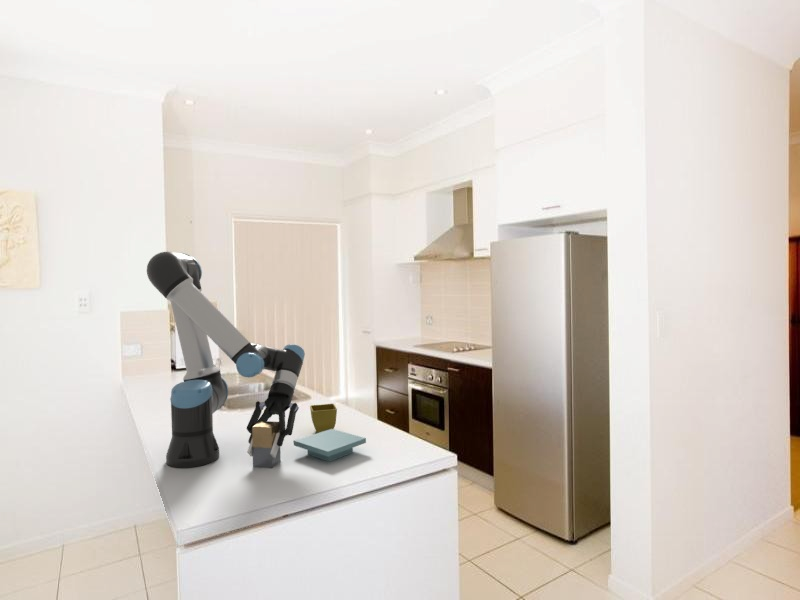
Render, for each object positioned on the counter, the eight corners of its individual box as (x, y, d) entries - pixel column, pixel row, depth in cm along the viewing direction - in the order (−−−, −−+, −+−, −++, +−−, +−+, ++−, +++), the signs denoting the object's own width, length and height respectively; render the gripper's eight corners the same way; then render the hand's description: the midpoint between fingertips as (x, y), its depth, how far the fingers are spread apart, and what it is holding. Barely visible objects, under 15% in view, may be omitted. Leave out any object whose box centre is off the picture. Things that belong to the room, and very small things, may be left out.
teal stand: (293, 454, 158) (293, 440, 158) (331, 441, 171) (331, 428, 171) (328, 466, 148) (328, 451, 148) (366, 452, 160) (365, 438, 160)
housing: (253, 467, 148) (252, 426, 148) (262, 459, 154) (261, 421, 154) (272, 468, 147) (271, 427, 147) (280, 460, 153) (279, 421, 153)
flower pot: (312, 436, 177) (312, 411, 177) (310, 429, 185) (309, 405, 185) (337, 434, 179) (337, 409, 179) (334, 427, 188) (333, 403, 187)
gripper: (314, 395, 164) (296, 462, 148) (258, 393, 167) (235, 458, 152) (308, 382, 158) (289, 450, 143) (250, 380, 161) (225, 447, 146)
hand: (261, 454), depth 147 cm, fingers open, 6 cm apart
